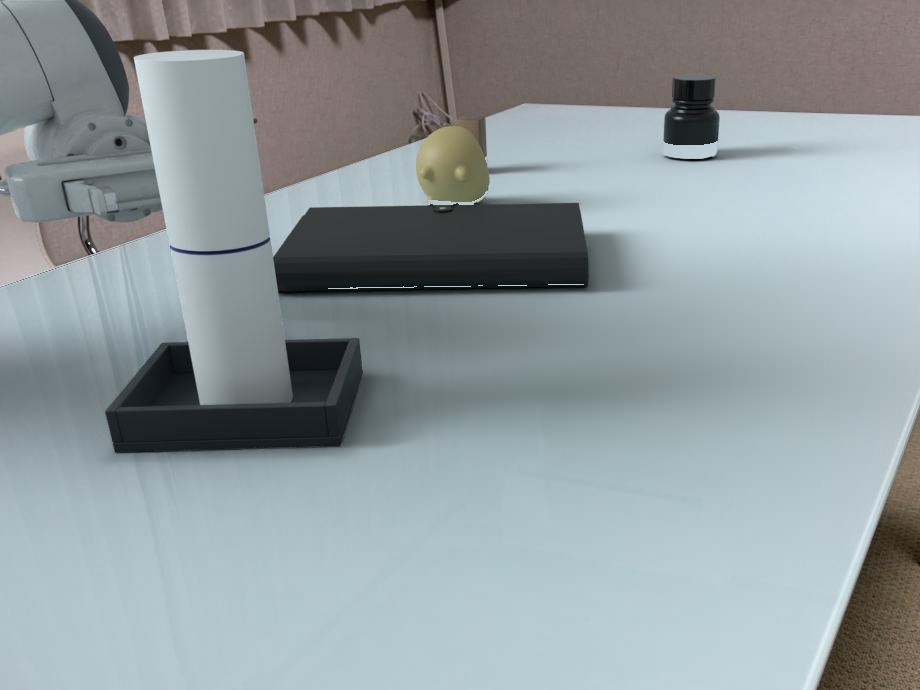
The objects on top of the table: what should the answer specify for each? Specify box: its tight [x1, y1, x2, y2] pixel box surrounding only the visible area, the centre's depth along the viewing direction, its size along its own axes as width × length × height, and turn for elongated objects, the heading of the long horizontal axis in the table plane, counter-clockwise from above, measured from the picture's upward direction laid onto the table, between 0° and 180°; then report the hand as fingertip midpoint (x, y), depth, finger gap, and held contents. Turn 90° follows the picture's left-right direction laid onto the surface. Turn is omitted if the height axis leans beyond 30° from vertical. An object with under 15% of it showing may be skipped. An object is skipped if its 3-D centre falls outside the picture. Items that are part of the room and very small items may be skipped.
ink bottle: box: [662, 74, 721, 145], centre depth 170 cm, size 10×9×12 cm
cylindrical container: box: [133, 49, 293, 405], centre depth 77 cm, size 7×7×25 cm
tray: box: [104, 337, 364, 453], centre depth 83 cm, size 17×15×3 cm
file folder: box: [273, 202, 590, 293], centre depth 119 cm, size 33×4×24 cm
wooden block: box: [454, 115, 488, 157], centre depth 163 cm, size 4×4×8 cm
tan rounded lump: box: [415, 125, 491, 202], centre depth 141 cm, size 10×12×11 cm
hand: (169, 194), depth 82 cm, fingers open, 8 cm apart
